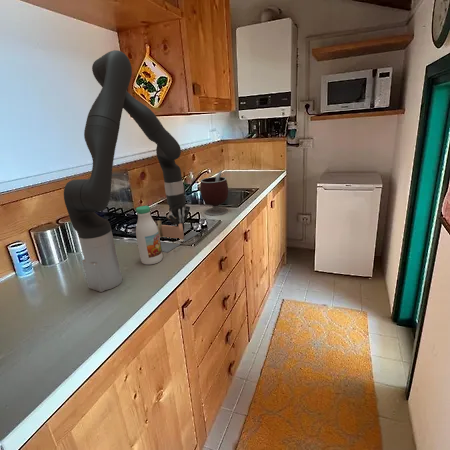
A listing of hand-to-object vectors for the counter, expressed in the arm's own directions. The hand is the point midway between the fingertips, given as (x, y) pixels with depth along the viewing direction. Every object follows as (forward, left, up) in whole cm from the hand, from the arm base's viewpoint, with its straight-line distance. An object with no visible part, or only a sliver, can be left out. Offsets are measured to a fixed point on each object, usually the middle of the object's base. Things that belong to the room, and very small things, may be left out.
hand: (181, 231), depth 127 cm
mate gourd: (+34, +4, -3) cm, 34 cm away
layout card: (-4, +3, -2) cm, 5 cm away
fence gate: (-3, +2, -2) cm, 4 cm away
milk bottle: (-22, -4, -3) cm, 22 cm away
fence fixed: (-9, +8, -2) cm, 12 cm away
